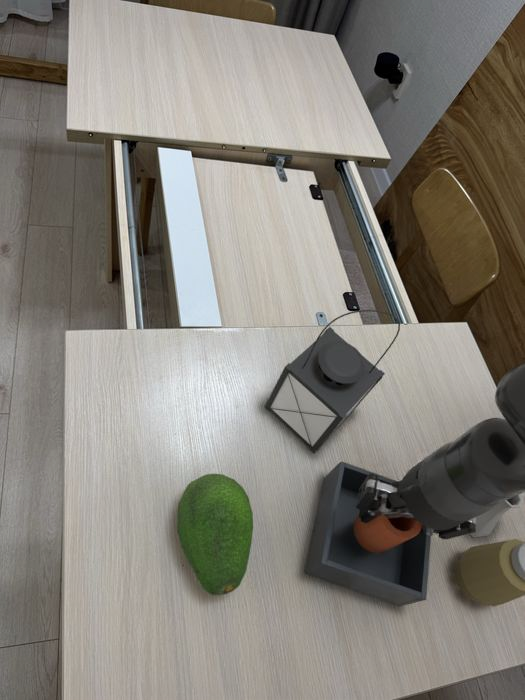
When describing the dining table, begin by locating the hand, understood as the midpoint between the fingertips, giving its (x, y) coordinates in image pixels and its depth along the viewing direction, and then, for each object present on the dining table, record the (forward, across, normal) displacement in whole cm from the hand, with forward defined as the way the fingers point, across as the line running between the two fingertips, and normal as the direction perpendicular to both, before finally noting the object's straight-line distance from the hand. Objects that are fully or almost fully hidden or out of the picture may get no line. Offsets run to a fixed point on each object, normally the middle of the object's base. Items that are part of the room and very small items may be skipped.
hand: (386, 523), depth 67 cm
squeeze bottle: (+10, -18, 0) cm, 20 cm away
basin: (+9, 0, 0) cm, 9 cm away
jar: (+5, 0, 0) cm, 5 cm away
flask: (+10, -18, -10) cm, 23 cm away
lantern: (+10, +12, -18) cm, 24 cm away
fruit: (+10, +21, +7) cm, 24 cm away
